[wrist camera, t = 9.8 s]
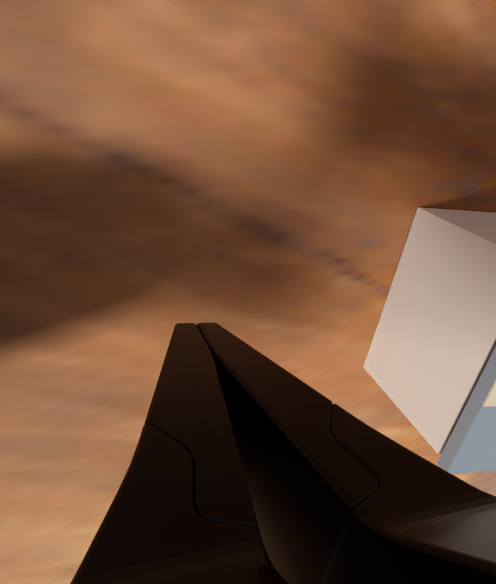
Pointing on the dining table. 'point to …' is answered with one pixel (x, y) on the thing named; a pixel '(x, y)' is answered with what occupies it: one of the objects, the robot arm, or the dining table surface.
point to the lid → (475, 429)
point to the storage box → (438, 319)
